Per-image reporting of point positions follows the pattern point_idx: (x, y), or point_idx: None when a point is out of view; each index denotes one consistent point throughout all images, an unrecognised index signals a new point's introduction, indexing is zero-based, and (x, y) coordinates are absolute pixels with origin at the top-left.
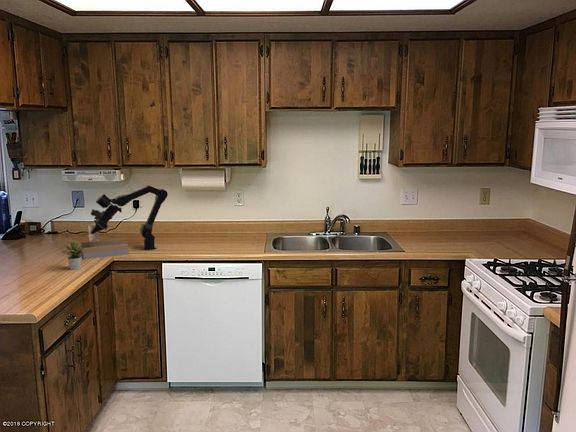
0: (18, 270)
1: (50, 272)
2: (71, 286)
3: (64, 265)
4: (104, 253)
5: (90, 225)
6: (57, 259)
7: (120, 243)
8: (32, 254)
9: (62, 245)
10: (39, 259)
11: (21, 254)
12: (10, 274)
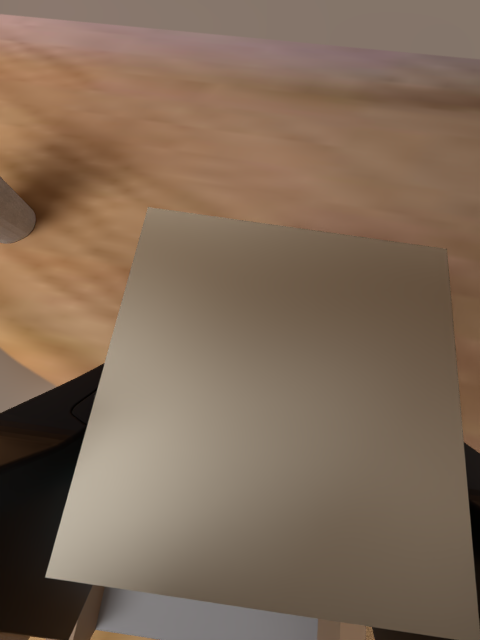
0: (140, 59)
1: (26, 134)
2: None
3: (99, 195)
4: None
5: (147, 275)
6: (230, 190)
7: (319, 626)
8: (380, 126)
9: None
10: (272, 134)
11: (398, 96)
12: (102, 36)
